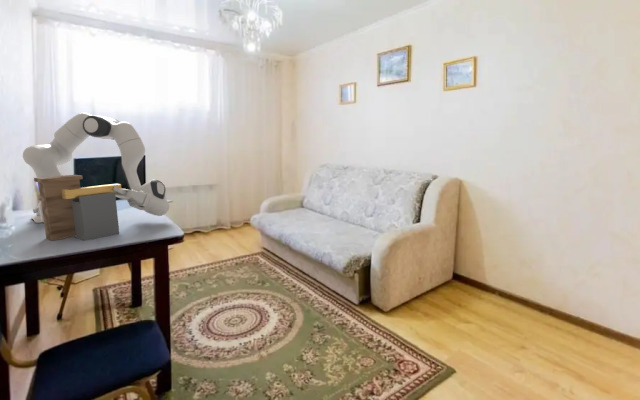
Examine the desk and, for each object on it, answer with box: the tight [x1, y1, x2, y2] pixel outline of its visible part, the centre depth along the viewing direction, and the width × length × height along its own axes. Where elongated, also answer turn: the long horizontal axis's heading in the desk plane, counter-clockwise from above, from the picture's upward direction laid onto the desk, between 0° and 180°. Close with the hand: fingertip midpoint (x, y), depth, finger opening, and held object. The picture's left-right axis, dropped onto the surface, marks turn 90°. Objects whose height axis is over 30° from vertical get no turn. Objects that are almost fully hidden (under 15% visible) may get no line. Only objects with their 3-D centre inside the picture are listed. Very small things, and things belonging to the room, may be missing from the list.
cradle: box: [71, 192, 120, 241], centre depth 152 cm, size 8×14×18 cm, turn 148°
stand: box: [33, 174, 84, 241], centre depth 151 cm, size 7×15×26 cm, turn 147°
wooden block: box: [62, 183, 122, 199], centre depth 151 cm, size 22×4×4 cm, turn 147°
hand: (110, 187), depth 156 cm, fingers closed on wooden block, 3 cm apart
